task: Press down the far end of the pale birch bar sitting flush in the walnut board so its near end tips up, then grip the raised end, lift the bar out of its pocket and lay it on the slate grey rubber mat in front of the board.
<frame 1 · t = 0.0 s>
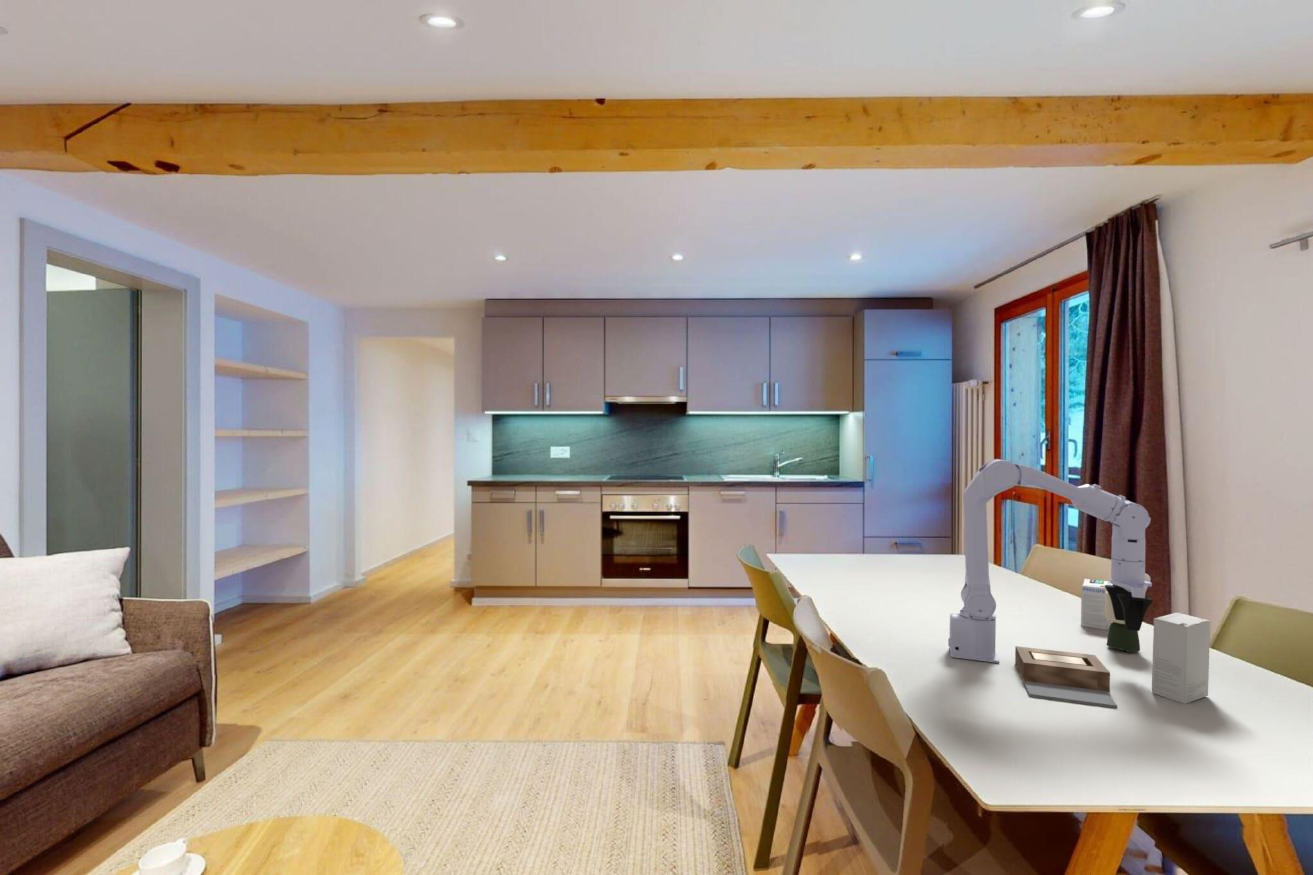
hand: (1127, 624, 137), 10 cm above the table, tool pointing down, fingers open, 7 cm apart
skincare box: (1180, 696, 125), on the table
slate mat: (1068, 695, 125), on the table
walnut board: (1059, 677, 134), on the table
light bulb box: (1096, 624, 174), on the table
birch bar: (1058, 668, 134), point 2 cm above the table, touching tipping cradle
tipping cradle: (1058, 669, 134), point 2 cm above the table, hinge at 0.0°, touching birch bar
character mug: (1123, 650, 152), on the table
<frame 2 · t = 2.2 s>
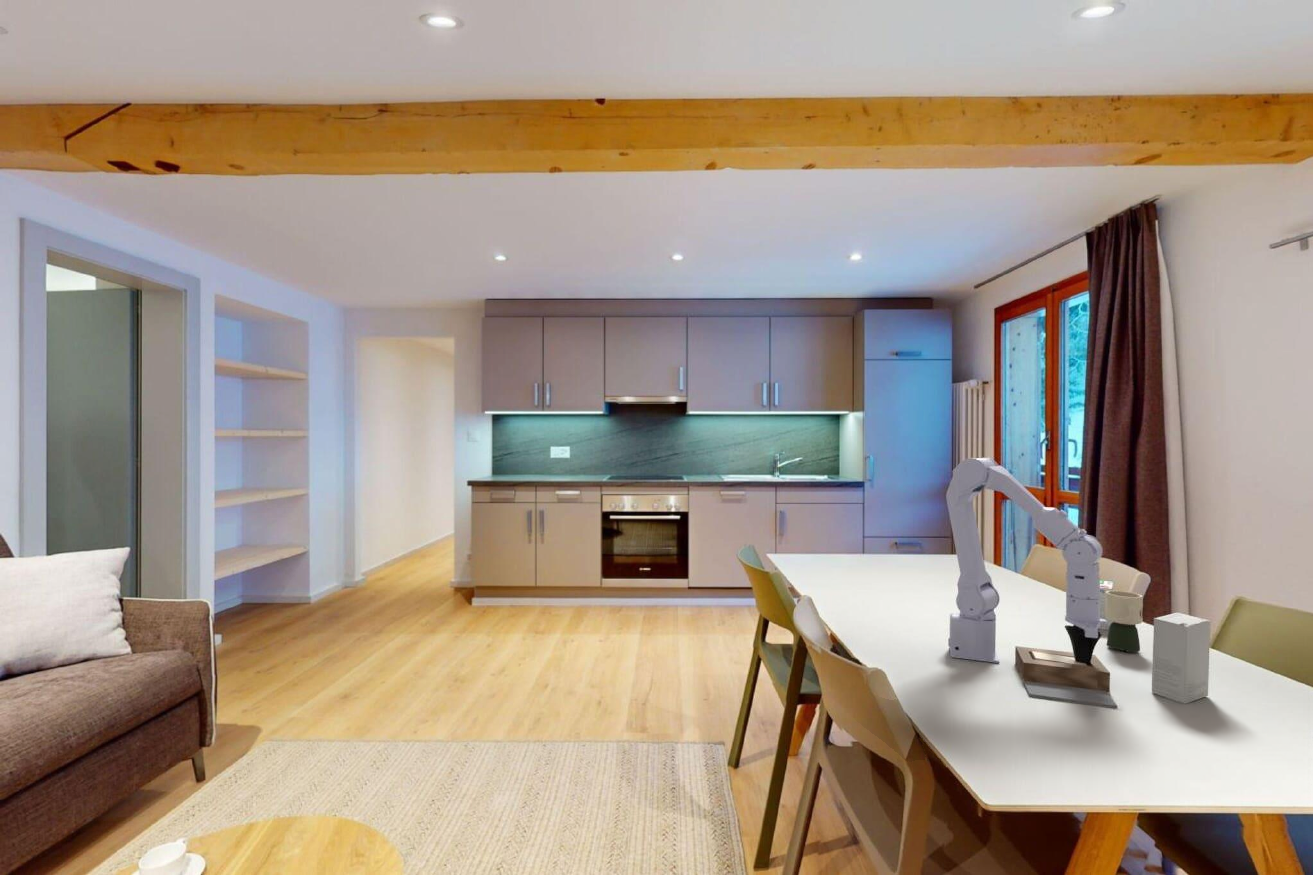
hand: (1082, 663, 133), 3 cm above the table, tool pointing down, fingers closed, pressing on birch bar
birch bar: (1058, 668, 134), point 2 cm above the table, touching gripper, tipping cradle
tipping cradle: (1058, 668, 134), point 2 cm above the table, hinge at -2.2°, touching birch bar
everything else where it was.
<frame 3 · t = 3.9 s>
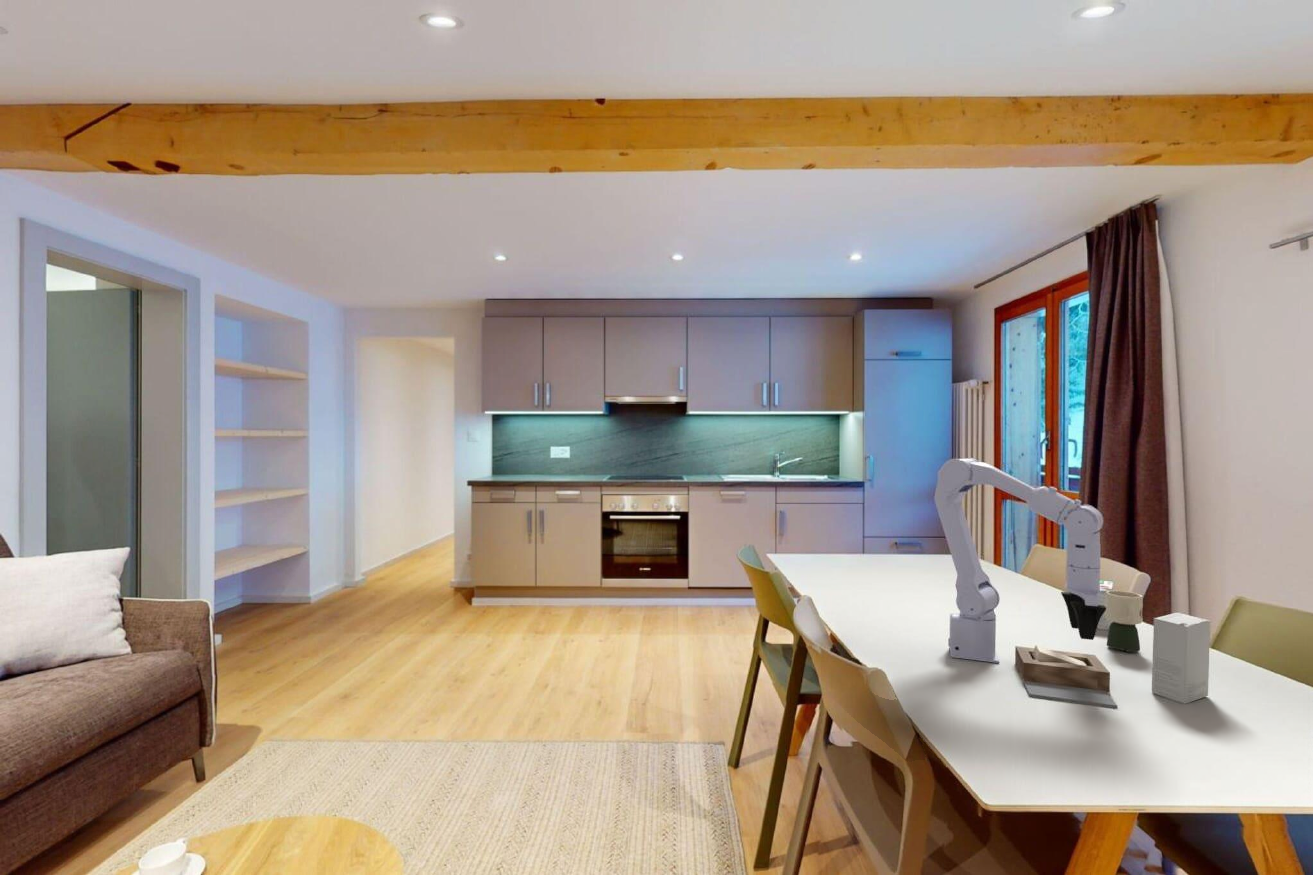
hand: (1082, 633, 133), 9 cm above the table, tool pointing down, fingers open, 7 cm apart
birch bar: (1058, 665, 134), point 2 cm above the table, tilted 15°, touching tipping cradle
tipping cradle: (1058, 666, 134), point 2 cm above the table, hinge at -15.1°, touching birch bar
everything else where it was.
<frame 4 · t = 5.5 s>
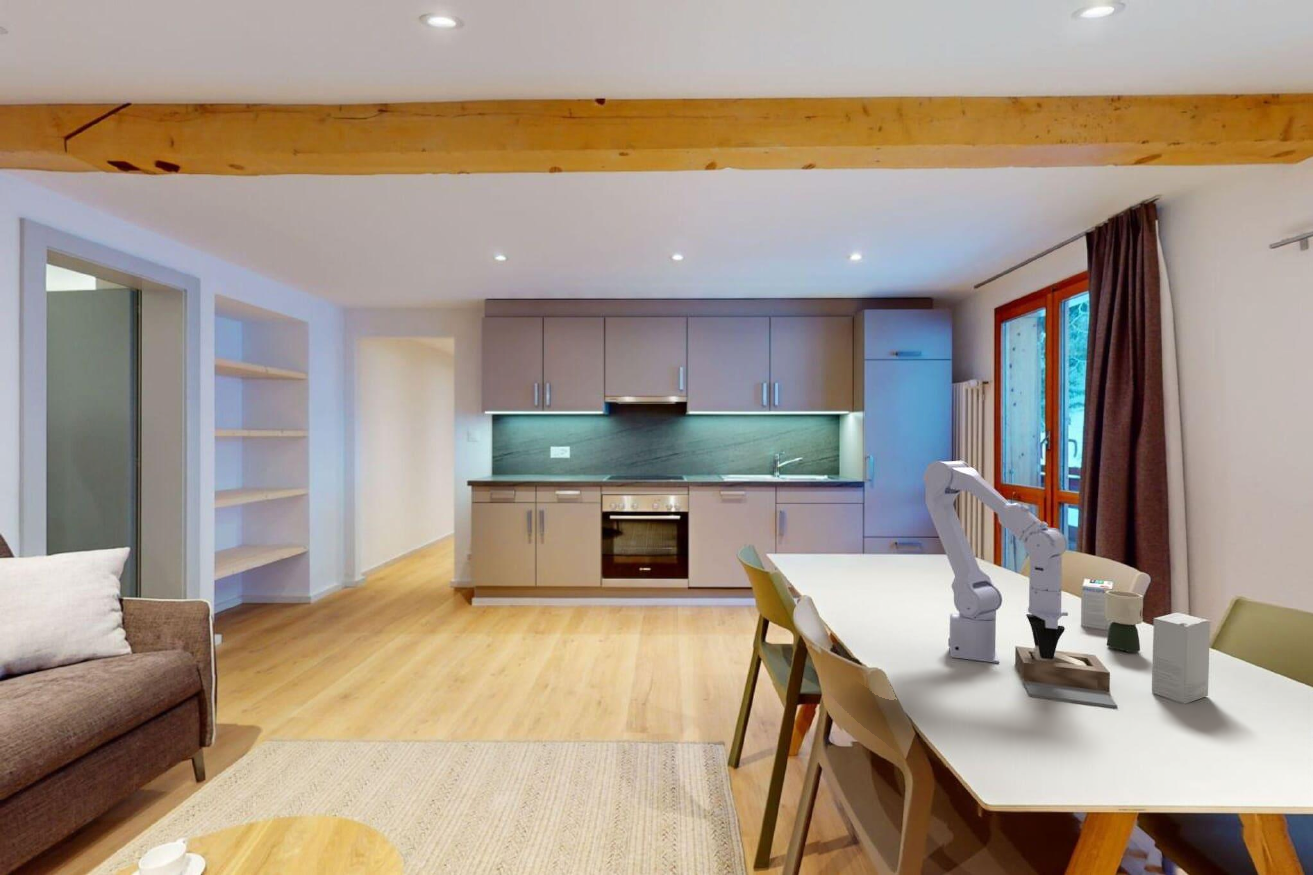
hand: (1044, 654, 135), 4 cm above the table, tool pointing down, fingers closed on birch bar, 4 cm apart
birch bar: (1058, 665, 134), point 2 cm above the table, tilted 15°, touching gripper, tipping cradle
everything else where it was.
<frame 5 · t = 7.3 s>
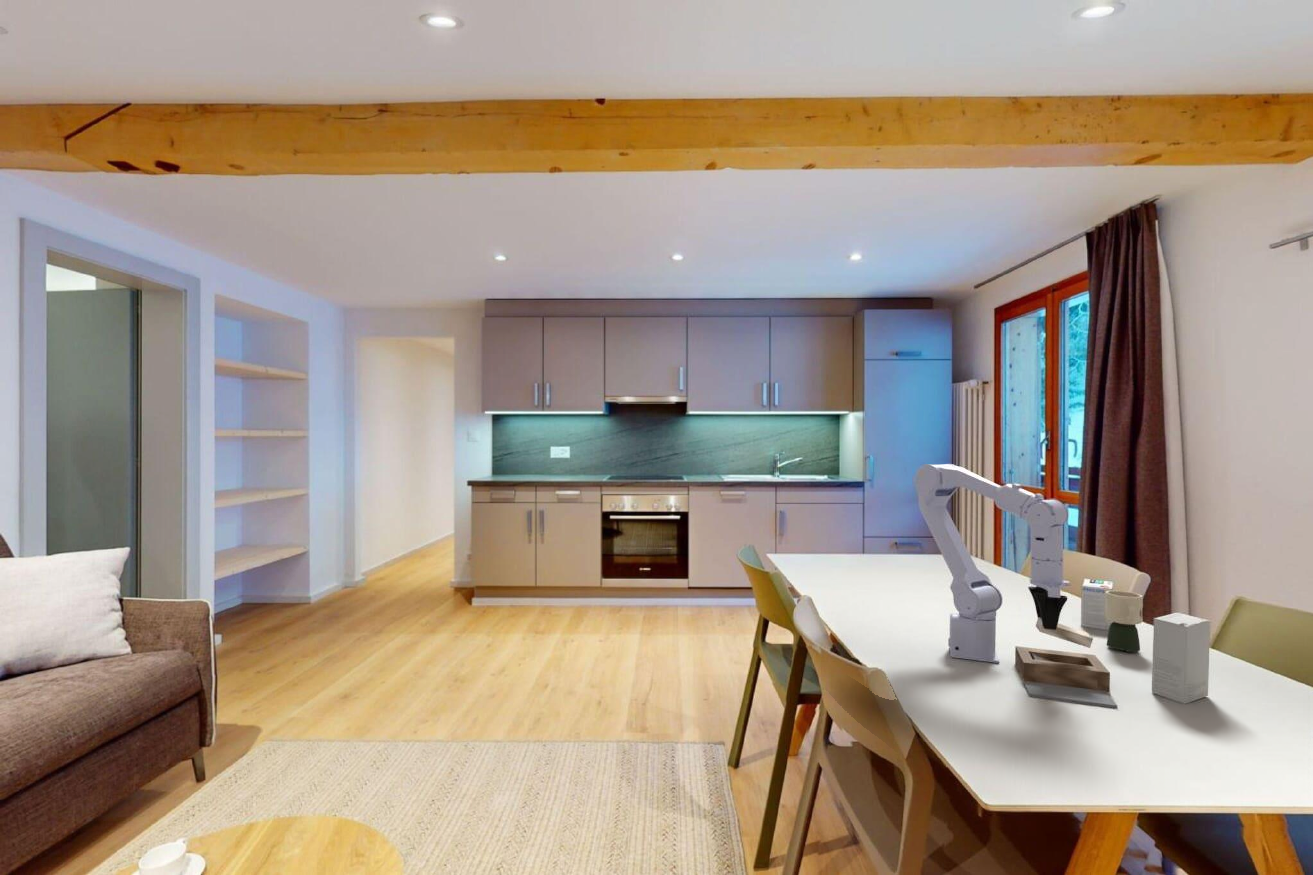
hand: (1047, 625, 134), 10 cm above the table, tool pointing down, fingers closed on birch bar, 4 cm apart
birch bar: (1062, 636, 133), point 8 cm above the table, tilted 14°, touching gripper
tipping cradle: (1058, 666, 134), point 2 cm above the table, hinge at -15.1°
everything else where it was.
when the fingers open (6 cm above the table, at t = 9.2 s): birch bar drops 3 cm, resting on slate mat.
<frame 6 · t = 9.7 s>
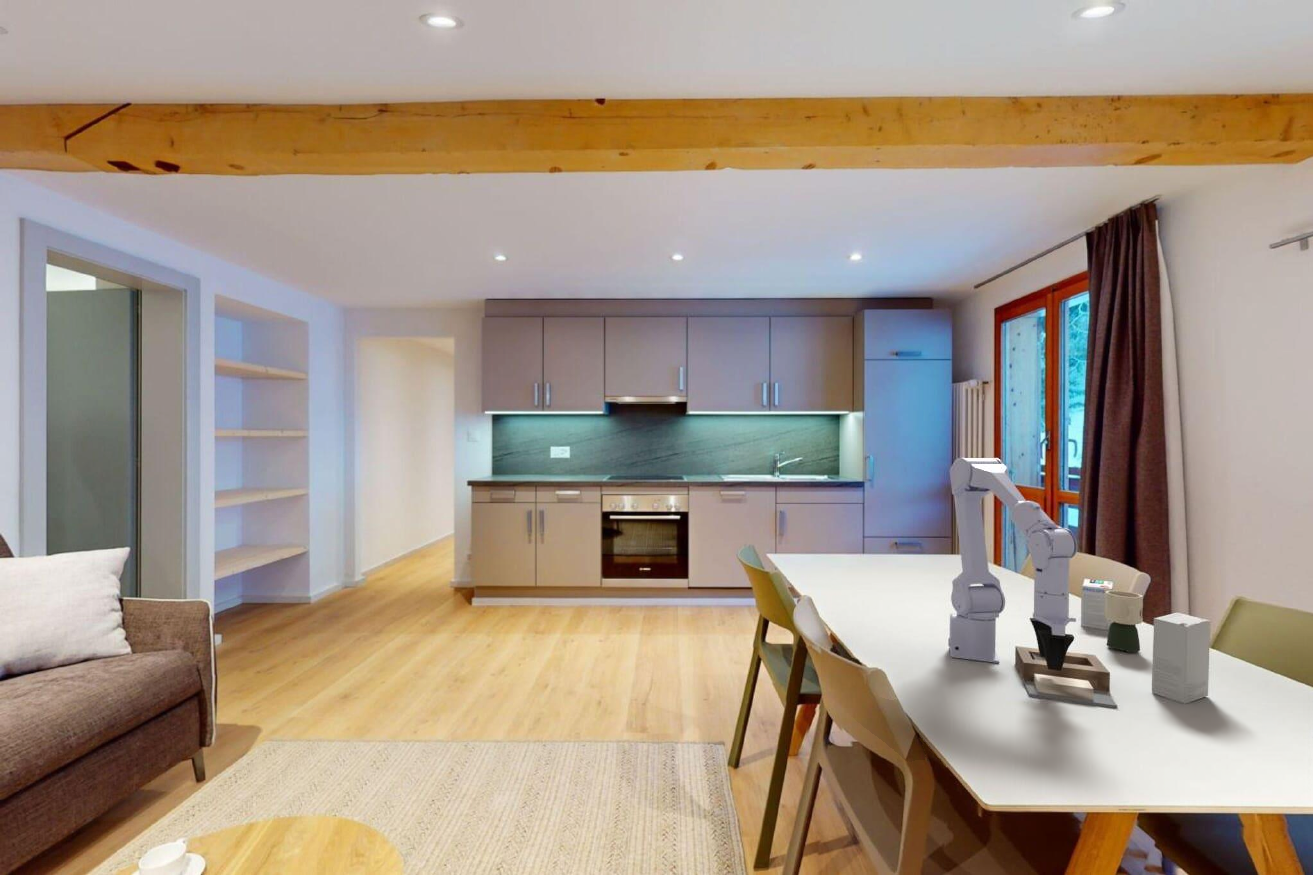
hand: (1050, 662, 126), 6 cm above the table, tool pointing down, fingers open, 7 cm apart
birch bar: (1062, 691, 125), resting on slate mat
everything else where it was.
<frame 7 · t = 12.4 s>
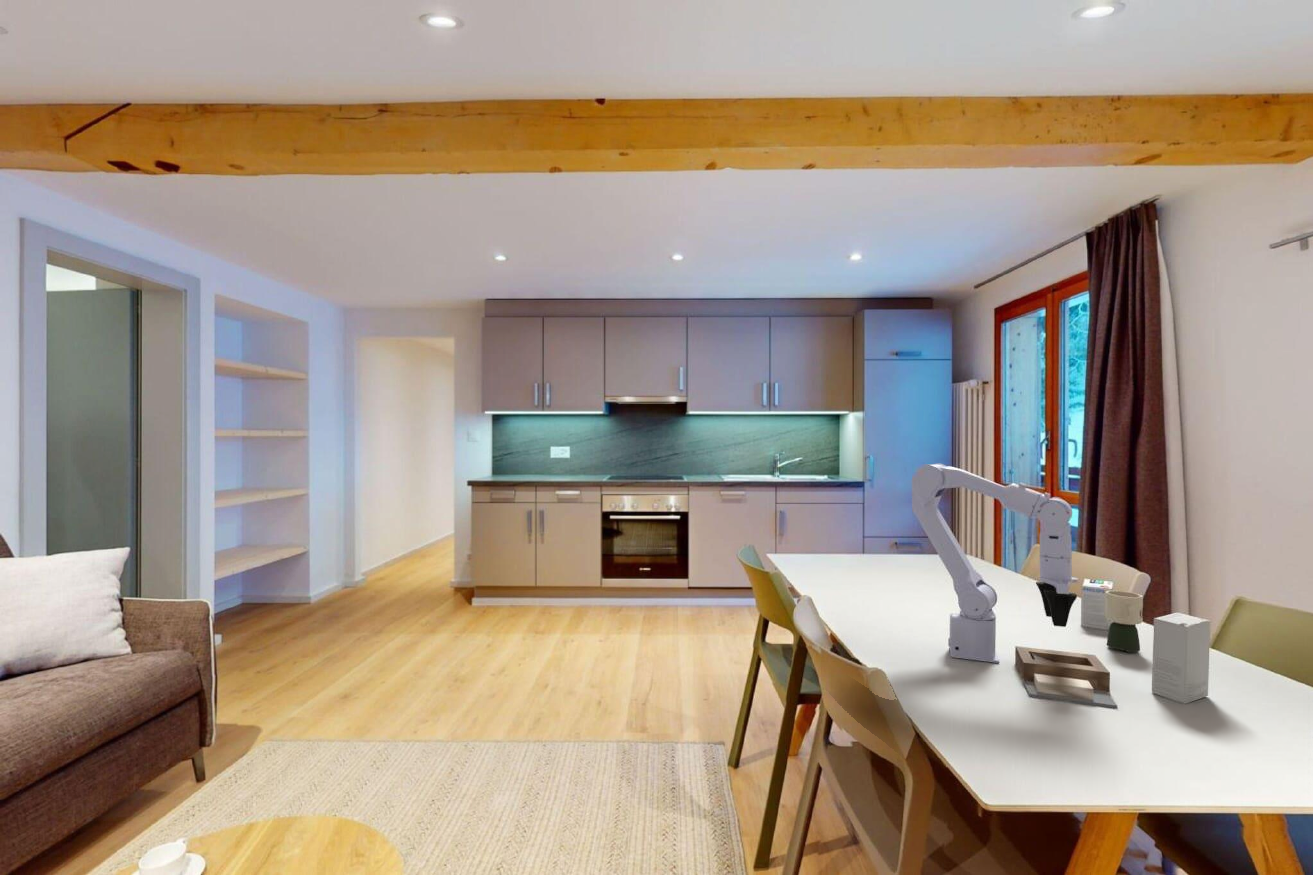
hand: (1055, 621, 138), 10 cm above the table, tool pointing down, fingers open, 7 cm apart
nothing on the table moved.
at the end: birch bar inside the target area on the slate mat (0.8 cm from its centre), point 0.5 cm above the slate mat's base; birch bar touching slate mat; the gripper is holding nothing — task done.
